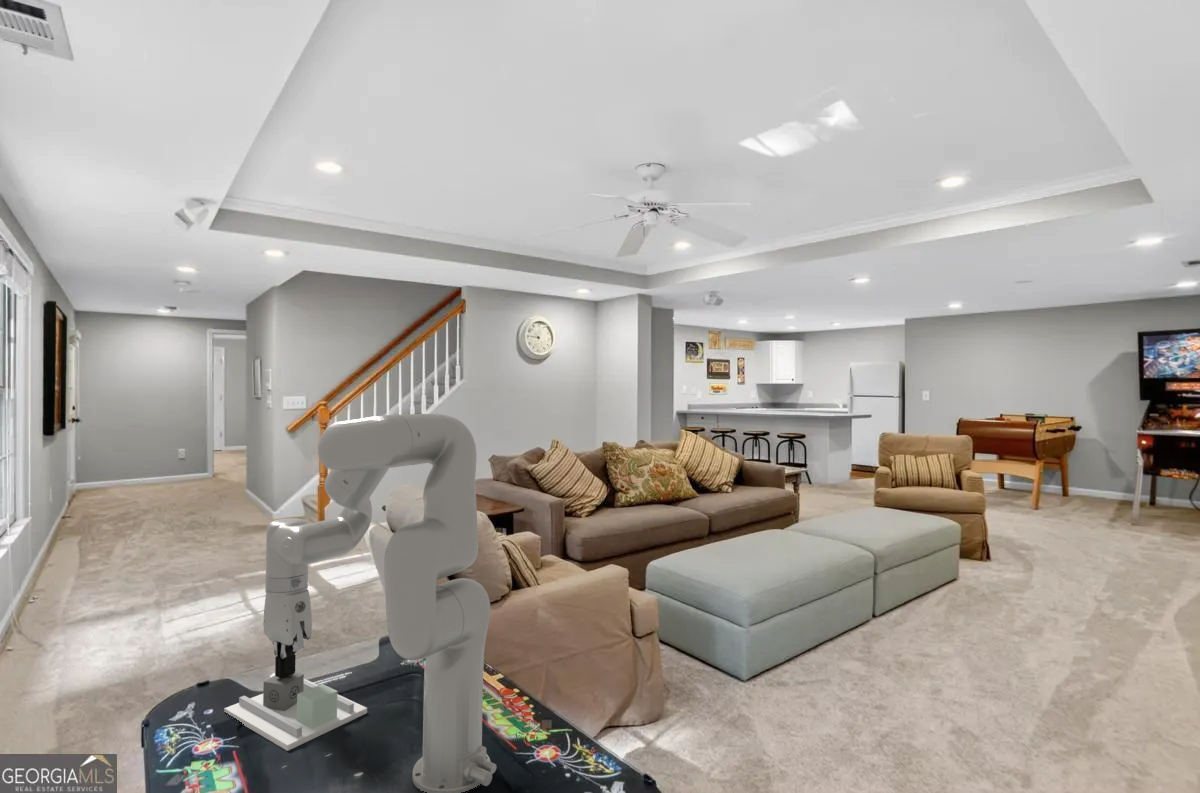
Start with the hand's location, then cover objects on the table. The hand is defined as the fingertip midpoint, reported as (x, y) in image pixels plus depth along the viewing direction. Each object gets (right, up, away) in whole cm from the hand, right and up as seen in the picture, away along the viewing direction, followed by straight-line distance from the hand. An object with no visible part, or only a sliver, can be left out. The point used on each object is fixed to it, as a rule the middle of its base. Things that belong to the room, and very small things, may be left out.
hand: (285, 674), depth 123 cm
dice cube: (0, -6, 0) cm, 6 cm away
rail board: (+3, -7, -2) cm, 8 cm away
